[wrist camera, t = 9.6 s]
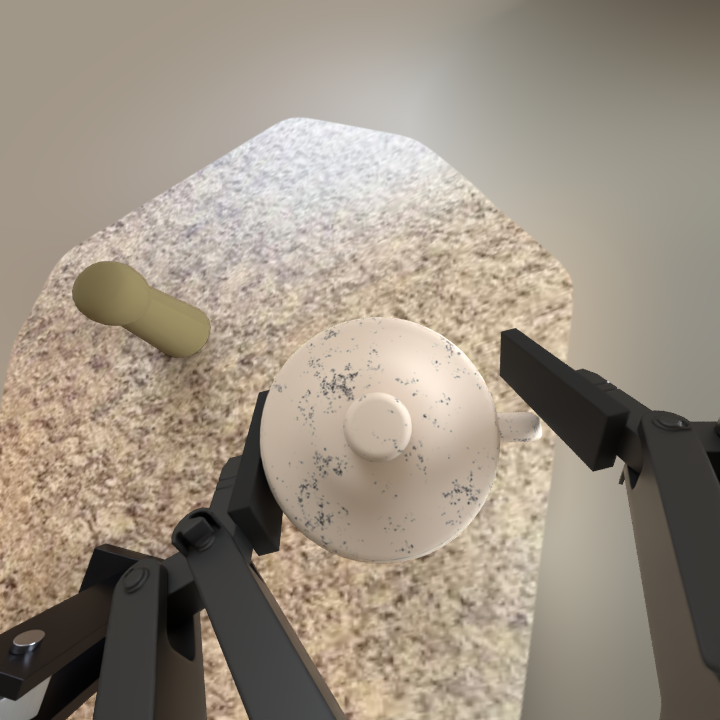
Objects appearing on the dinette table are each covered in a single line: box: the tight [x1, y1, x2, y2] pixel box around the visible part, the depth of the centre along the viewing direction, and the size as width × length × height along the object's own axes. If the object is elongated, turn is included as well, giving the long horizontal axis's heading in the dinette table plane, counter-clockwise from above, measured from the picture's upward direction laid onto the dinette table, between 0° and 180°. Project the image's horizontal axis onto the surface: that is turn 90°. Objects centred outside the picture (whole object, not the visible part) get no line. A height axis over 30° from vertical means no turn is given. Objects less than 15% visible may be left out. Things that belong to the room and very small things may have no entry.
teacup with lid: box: [260, 317, 542, 564], centre depth 14 cm, size 12×9×12 cm
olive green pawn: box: [72, 261, 210, 358], centre depth 29 cm, size 6×6×11 cm
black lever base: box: [0, 544, 164, 720], centre depth 22 cm, size 10×8×12 cm
